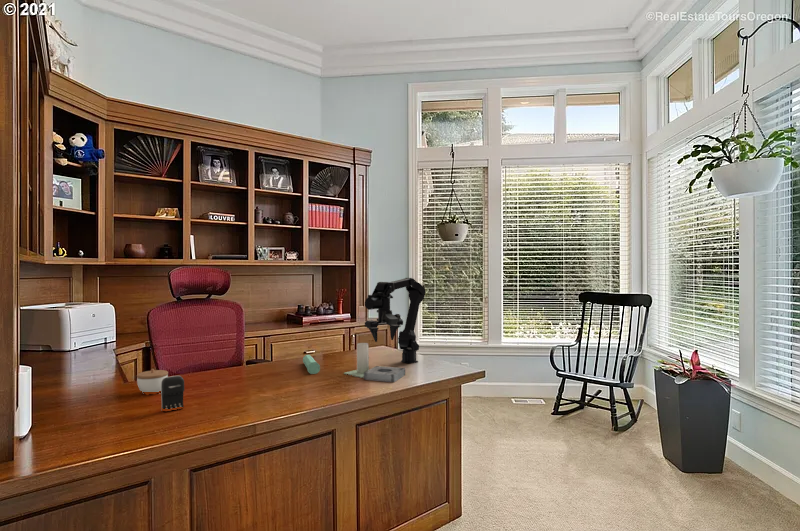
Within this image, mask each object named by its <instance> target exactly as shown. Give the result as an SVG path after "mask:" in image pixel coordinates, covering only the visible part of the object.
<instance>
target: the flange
mask: <svg viewBox="0 0 800 531" xmlns="http://www.w3.org/2000/svg"><path fill="white" fill-rule="evenodd" d="M405 375H406V368H405V367H392V366H380V365H376V366H374V367H372V368H369V370H368V371H366V372H364V378H363V380H365V381H377V382H389V383H395V382H397V381H398V380H400V379H401V378H403V377H404V376H405Z"/></svg>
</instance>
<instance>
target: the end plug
mask: <svg viewBox="0 0 800 531" xmlns="http://www.w3.org/2000/svg"><path fill="white" fill-rule="evenodd" d="M369 367H370V366H369V343H368V342H357V343H356V368H357V369H356V370H357V373H359V374H364V372H366V371H368V370H370V368H369Z"/></svg>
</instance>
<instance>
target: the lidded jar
mask: <svg viewBox="0 0 800 531" xmlns="http://www.w3.org/2000/svg"><path fill="white" fill-rule="evenodd" d="M165 377H169V371H167V370H166V369H165V370H164V369H154V368H151V369H150V370H146V371H141V372H139V373H137V375H136V384H137V386H138V389H139V391H140V392H141V391H142V393H143V392H159V391H161V382H162V379H163V378H165Z"/></svg>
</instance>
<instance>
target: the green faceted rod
mask: <svg viewBox="0 0 800 531" xmlns="http://www.w3.org/2000/svg"><path fill="white" fill-rule="evenodd" d="M302 363H303V364H304V366H305V367H306V369H307V372H308V373H309V374H310V375H315V374H317V375H318V373H319V372H320V371H321V365H320V364H319V363H318V361H316V360H315V359H314V357H312V355H311V354H305V355H304V356H303V357H302Z"/></svg>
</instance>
